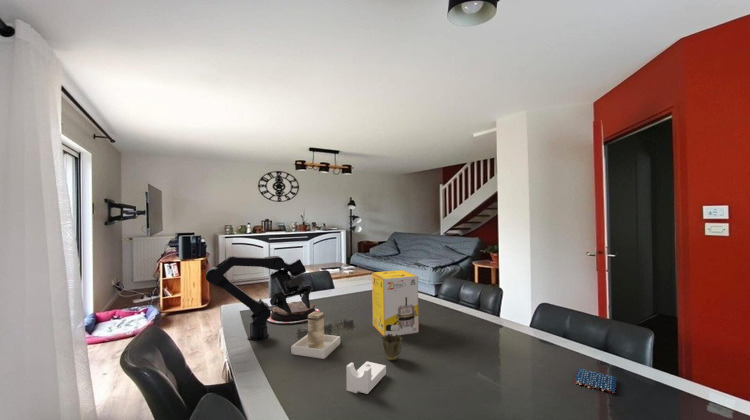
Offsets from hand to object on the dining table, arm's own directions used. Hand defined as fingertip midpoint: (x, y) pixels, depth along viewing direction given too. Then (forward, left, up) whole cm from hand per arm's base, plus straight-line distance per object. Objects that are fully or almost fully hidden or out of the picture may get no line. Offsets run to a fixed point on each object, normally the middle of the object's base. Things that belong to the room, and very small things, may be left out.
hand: (300, 311), depth 134 cm
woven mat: (+105, -3, -13) cm, 106 cm away
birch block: (+10, -6, -11) cm, 16 cm away
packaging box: (+34, +24, -12) cm, 44 cm away
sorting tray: (+10, -6, -12) cm, 17 cm away
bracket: (+38, -23, -13) cm, 46 cm away
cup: (+41, -6, -12) cm, 44 cm away
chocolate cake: (-22, +27, -13) cm, 37 cm away
